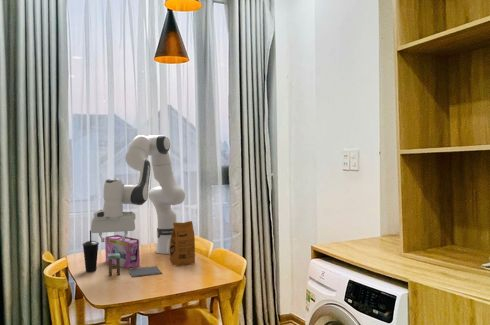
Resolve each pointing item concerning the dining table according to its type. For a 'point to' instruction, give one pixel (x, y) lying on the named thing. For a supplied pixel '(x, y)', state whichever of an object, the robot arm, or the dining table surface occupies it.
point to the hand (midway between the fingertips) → (113, 241)
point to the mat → (144, 271)
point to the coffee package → (182, 244)
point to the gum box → (123, 250)
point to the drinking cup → (90, 255)
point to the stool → (117, 266)
